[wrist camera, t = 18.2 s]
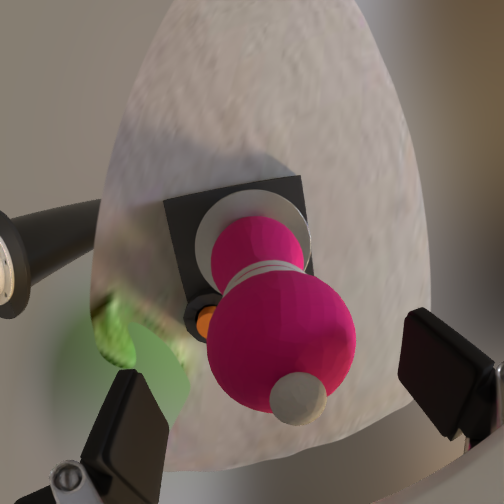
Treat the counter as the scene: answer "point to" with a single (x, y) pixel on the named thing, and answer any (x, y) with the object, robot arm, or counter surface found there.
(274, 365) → the pepper mill
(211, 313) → the button
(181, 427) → the counter surface
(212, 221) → the weighing plate
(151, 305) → the counter surface
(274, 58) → the counter surface
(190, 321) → the scale
